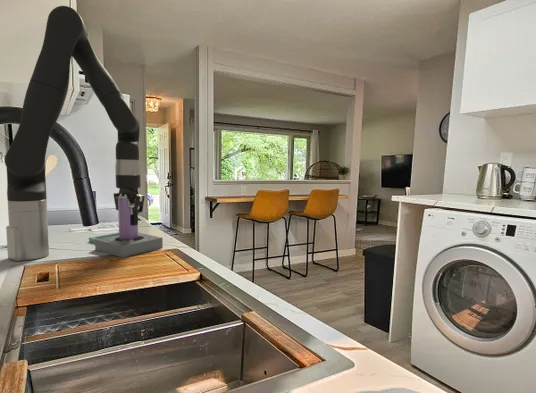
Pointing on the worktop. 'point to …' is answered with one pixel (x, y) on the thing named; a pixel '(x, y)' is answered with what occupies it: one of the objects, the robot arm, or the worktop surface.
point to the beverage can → (126, 222)
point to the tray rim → (92, 239)
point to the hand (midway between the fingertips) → (129, 224)
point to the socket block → (128, 245)
